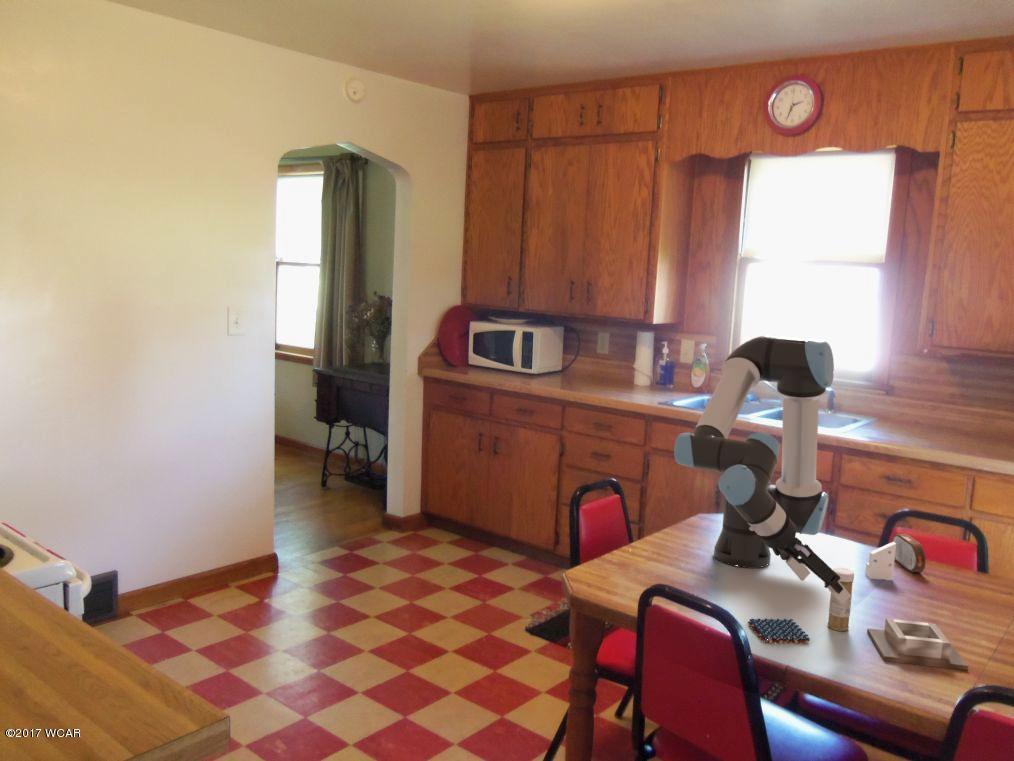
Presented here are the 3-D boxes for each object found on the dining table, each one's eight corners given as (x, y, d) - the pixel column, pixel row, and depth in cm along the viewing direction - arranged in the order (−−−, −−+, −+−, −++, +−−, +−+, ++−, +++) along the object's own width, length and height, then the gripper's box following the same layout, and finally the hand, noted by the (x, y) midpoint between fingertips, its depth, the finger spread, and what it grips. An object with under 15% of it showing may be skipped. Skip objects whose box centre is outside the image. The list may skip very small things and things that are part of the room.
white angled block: (910, 572, 217) (896, 543, 216) (874, 588, 218) (860, 559, 218) (905, 567, 221) (891, 539, 220) (869, 583, 222) (855, 555, 221)
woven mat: (745, 625, 186) (746, 616, 186) (791, 626, 187) (792, 617, 187) (762, 646, 176) (763, 637, 176) (811, 646, 177) (811, 637, 176)
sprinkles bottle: (837, 622, 189) (842, 565, 187) (853, 630, 185) (859, 572, 183) (822, 625, 187) (827, 568, 185) (838, 633, 183) (844, 575, 181)
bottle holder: (883, 660, 170) (886, 640, 169) (867, 632, 184) (869, 613, 183) (967, 670, 167) (970, 649, 167) (944, 641, 181) (946, 621, 180)
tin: (925, 577, 221) (928, 546, 220) (913, 576, 221) (916, 546, 220) (899, 558, 236) (902, 529, 235) (888, 557, 236) (891, 529, 235)
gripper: (728, 519, 188) (779, 579, 194) (795, 556, 164) (851, 623, 170) (750, 496, 188) (801, 556, 194) (820, 529, 165) (875, 596, 171)
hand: (825, 587), depth 182 cm, fingers open, 13 cm apart
